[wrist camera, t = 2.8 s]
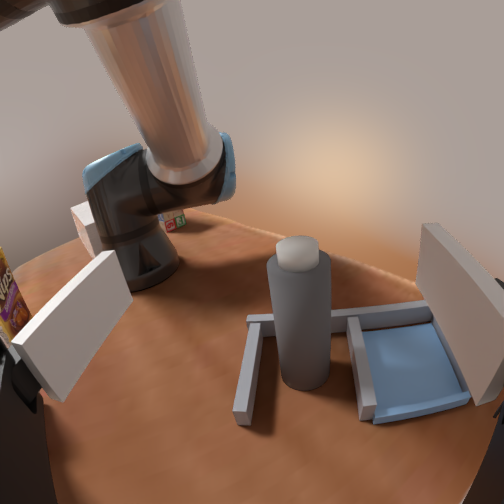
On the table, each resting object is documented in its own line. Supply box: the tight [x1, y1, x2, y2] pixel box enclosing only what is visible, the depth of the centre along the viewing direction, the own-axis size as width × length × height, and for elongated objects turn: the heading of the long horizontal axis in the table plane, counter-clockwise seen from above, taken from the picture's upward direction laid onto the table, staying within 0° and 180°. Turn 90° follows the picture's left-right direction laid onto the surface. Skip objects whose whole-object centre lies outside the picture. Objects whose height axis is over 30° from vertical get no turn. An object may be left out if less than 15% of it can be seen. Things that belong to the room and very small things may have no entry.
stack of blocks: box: [157, 209, 186, 233], centre depth 79 cm, size 21×6×12 cm, turn 46°
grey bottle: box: [267, 236, 331, 391], centre depth 25 cm, size 5×5×14 cm
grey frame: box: [233, 300, 472, 425], centre depth 27 cm, size 14×24×2 cm, turn 83°
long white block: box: [71, 201, 102, 259], centre depth 70 cm, size 32×11×11 cm, turn 41°
